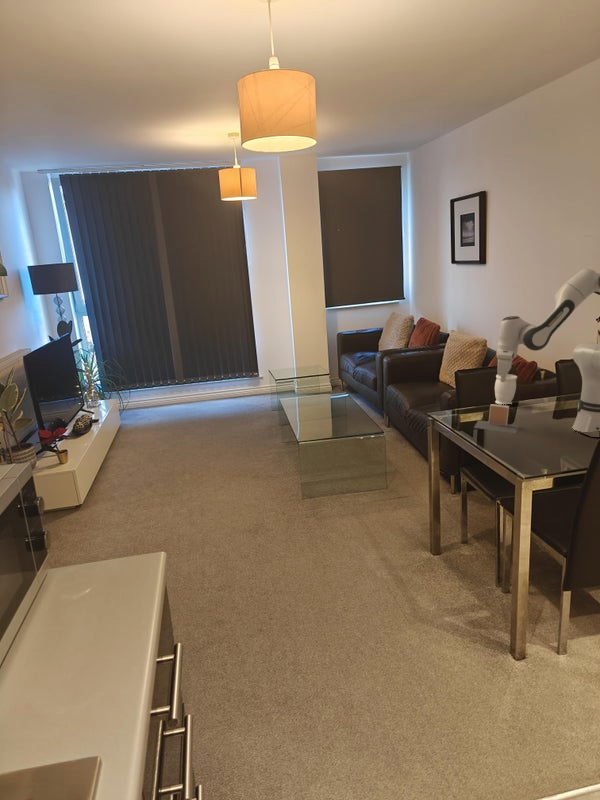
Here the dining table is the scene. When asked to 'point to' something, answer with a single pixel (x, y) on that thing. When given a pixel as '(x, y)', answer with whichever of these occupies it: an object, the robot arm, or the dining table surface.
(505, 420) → the tile
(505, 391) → the jar
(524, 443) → the dining table surface
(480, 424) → the mat
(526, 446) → the dining table surface
